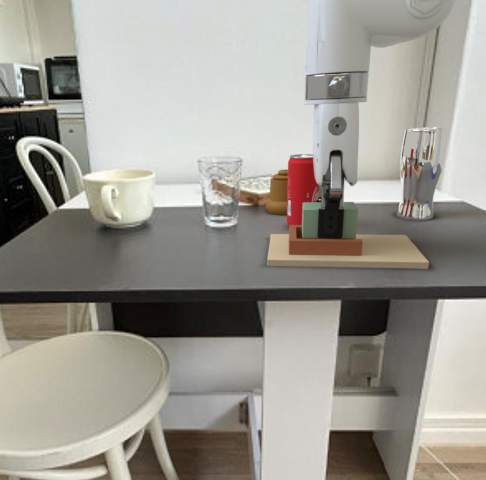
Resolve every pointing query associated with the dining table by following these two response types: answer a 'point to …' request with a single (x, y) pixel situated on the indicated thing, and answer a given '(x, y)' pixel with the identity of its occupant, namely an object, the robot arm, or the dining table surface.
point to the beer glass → (420, 171)
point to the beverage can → (300, 186)
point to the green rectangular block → (311, 219)
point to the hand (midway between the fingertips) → (328, 231)
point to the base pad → (344, 251)
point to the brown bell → (278, 193)
